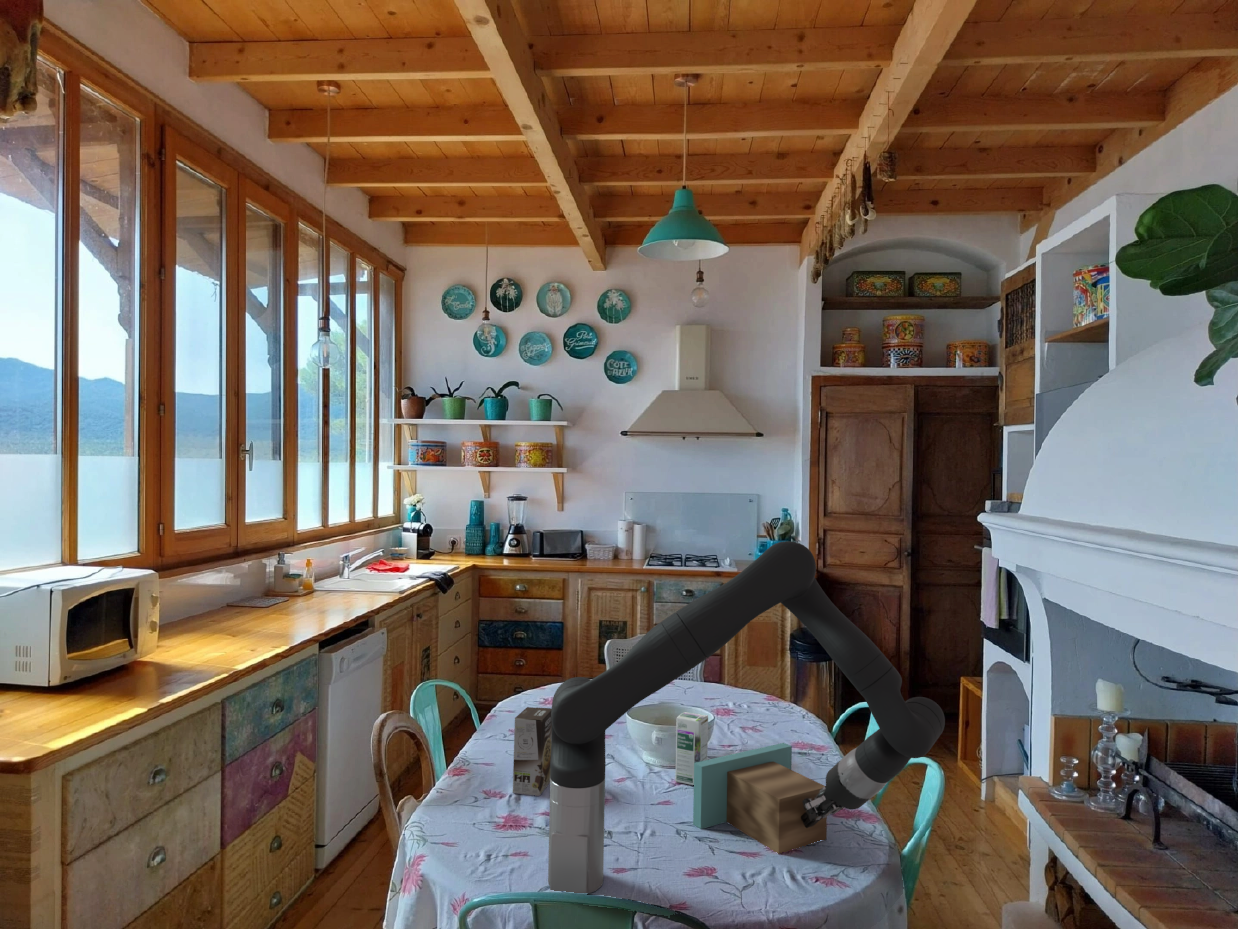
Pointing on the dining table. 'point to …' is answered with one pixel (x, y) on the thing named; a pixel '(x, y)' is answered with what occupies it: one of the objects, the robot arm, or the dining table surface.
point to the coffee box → (532, 751)
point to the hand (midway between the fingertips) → (805, 822)
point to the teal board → (714, 780)
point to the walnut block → (772, 806)
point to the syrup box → (690, 745)
